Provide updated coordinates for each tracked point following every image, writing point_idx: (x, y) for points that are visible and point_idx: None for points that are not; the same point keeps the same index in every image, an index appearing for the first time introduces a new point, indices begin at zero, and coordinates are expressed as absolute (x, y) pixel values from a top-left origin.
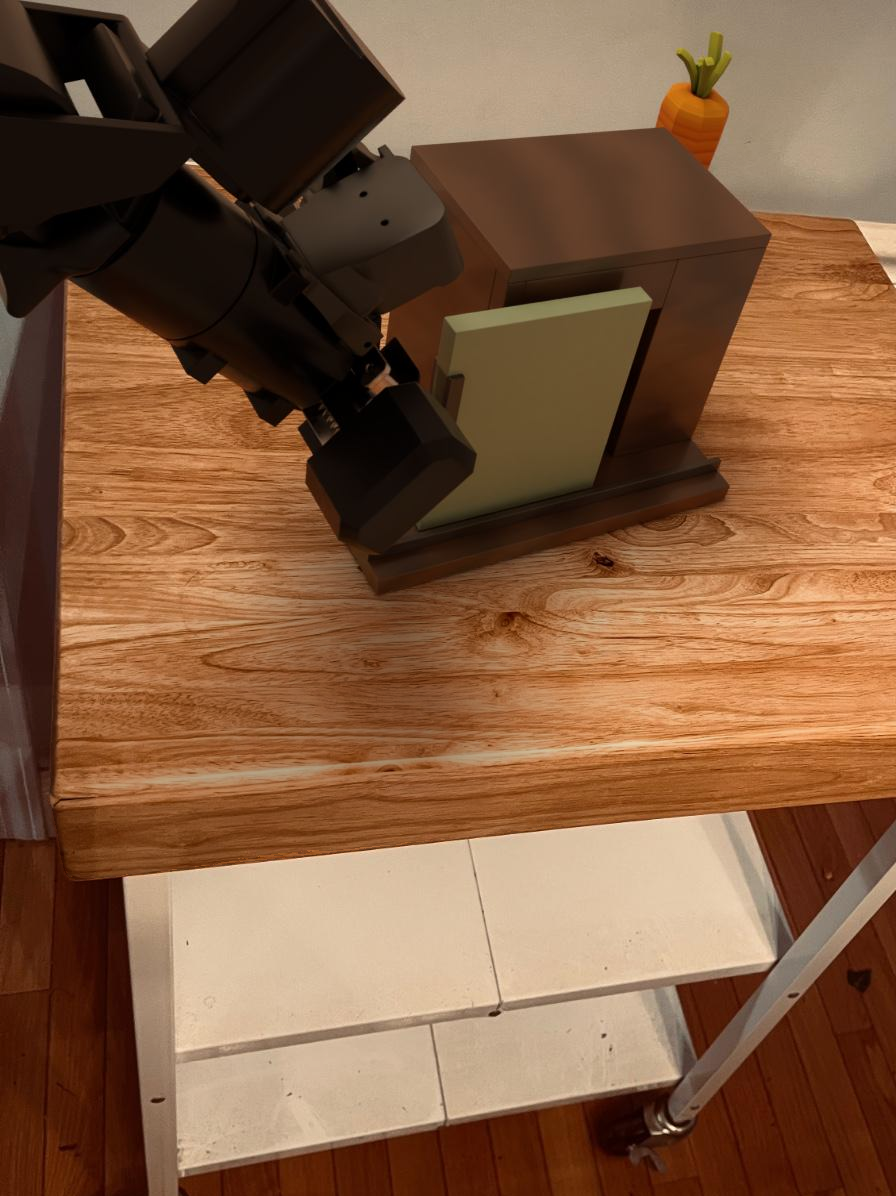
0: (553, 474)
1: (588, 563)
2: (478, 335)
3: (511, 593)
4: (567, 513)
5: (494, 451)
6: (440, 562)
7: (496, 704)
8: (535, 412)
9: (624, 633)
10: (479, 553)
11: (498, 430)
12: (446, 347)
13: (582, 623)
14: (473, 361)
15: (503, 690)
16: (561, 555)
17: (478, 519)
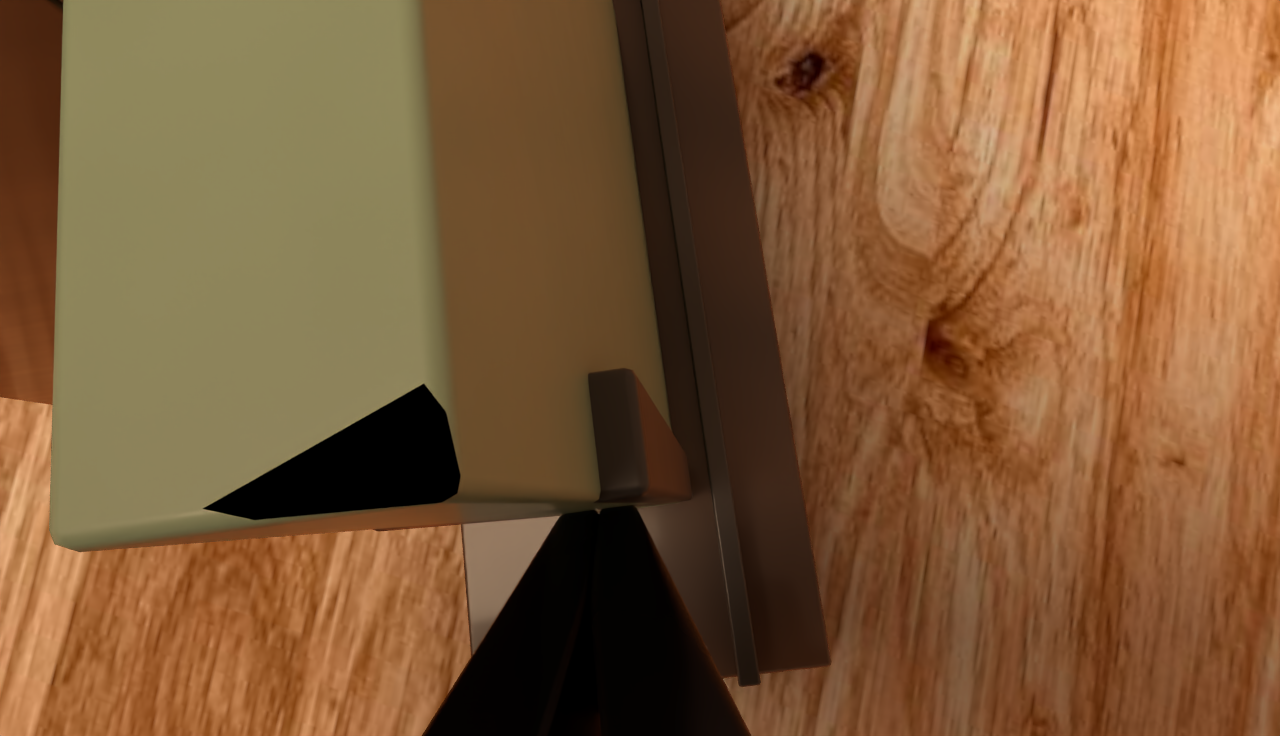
0: (621, 92)
1: (805, 110)
2: (471, 141)
3: (867, 319)
4: (686, 104)
5: (632, 250)
6: (792, 479)
7: (1207, 472)
8: (592, 37)
9: (1033, 102)
10: (778, 368)
11: (620, 216)
12: (436, 516)
13: (987, 186)
14: (560, 272)
15: (1166, 441)
16: (769, 163)
17: (698, 342)
